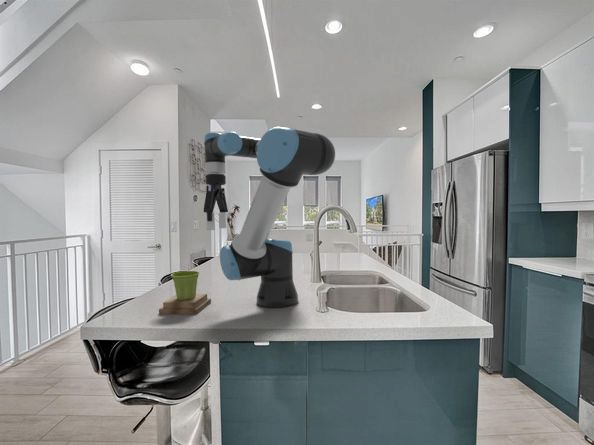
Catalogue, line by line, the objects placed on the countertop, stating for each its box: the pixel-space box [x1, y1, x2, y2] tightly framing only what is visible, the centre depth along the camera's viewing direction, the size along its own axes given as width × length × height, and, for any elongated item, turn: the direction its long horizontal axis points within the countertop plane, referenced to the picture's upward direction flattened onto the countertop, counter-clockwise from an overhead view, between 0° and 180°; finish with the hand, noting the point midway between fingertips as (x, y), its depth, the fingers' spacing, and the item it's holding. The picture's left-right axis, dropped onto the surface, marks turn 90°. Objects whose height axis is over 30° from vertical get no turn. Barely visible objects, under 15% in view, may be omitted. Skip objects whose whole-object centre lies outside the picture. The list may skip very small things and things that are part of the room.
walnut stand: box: [158, 293, 212, 315], centre depth 111 cm, size 13×13×4 cm
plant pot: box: [170, 270, 200, 300], centre depth 110 cm, size 9×9×9 cm
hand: (217, 229), depth 123 cm, fingers open, 13 cm apart
